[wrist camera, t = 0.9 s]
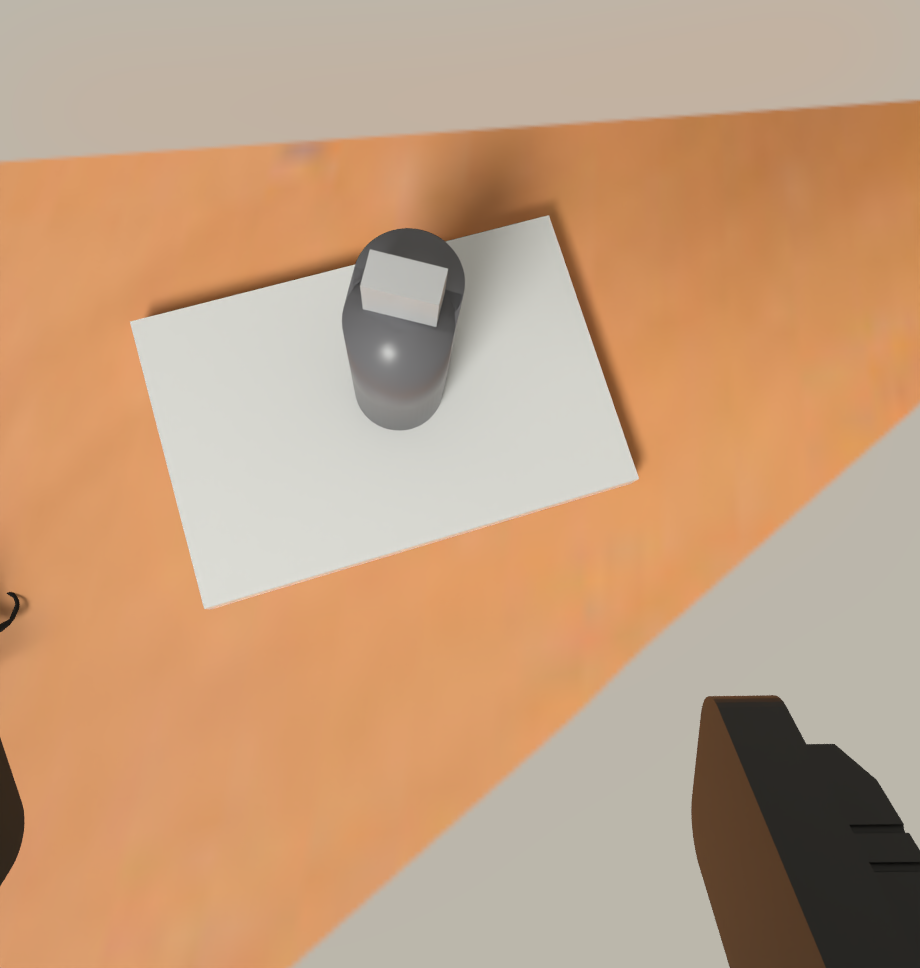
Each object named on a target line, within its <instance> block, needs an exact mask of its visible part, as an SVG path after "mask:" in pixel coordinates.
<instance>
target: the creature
mask: <svg viewBox="0 0 920 968" xmlns="http://www.w3.org/2000/svg"><path fill="white" fill-rule="evenodd" d="M7 594H8V595H10V596H11V597H13V598H14V601H15V607H14V609H13V612H12V614H11V617H10V619H9V620H7V621H5V622H3V623H1V624H0V632H2V631H3V630H4V629H5V628H7V627H8V626H9V625H10V624H11V623H12V621H13V620H14V619H15V617H16V614H17V612H18V610H19V599H18V598H17V596H16V595H15V593H12V592H8V593H7Z"/></svg>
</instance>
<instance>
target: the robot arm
mask: <svg viewBox="0 0 920 968" xmlns="http://www.w3.org/2000/svg"><path fill="white" fill-rule="evenodd" d="M903 825H904V824H903V822H902V821H901V819H900V817H899V816H898V814H897V813H896V811H895V809H894V808H893V806H892V805H891V803H890V801H889V799H888V798H887V796H886V794H885V793H884V791H883V790H882V788H881V786H880V785H879V783H878V781H877V780H876V779H875V778H874V777H872V776H871V775H870V774H869V773H868V772H867V771H865V770H864V769H863V768H862V767H861V766H860V765H858V764H857V763H856V762H855V761H854V760H852V759H851V758H850V757H849V756H848V755H847V754H845V753H844V752H843V751H842V750H841V749H840V748H838V747H837V746H836V745H835V744H806V743H805V741H804V739H803V737H802V735H801V733H800V732H799V730H798V728H797V726H796V724H795V722H794V720H793V718H792V717H791V715H790V713H789V711H788V709H787V707H786V705H785V704H784V702H783V701H782V700H781V699H780V698H779V697H778V696H773V695H771V696H709V697H706V699H705V700H704V703H703V706H702V712H701V720H700V730H699V738H698V748H697V757H696V766H695V775H694V785H693V794H692V829H693V838H694V845H695V850H696V855H697V859H698V863H699V866H700V870H701V873H702V877H703V880H704V883H705V886H706V890H707V893H708V896H709V900H710V903H711V906H712V910H713V913H714V916H715V920H716V923H717V926H718V929H719V933H720V936H721V940H722V943H723V946H724V950H725V953H726V956H727V960H728V963H729V966H730V968H920V850H919V848H918V847H917V845H916V844H915V842H914V840H913V839H912V837H911V836H910V834H909V833H905V831H904V827H903ZM23 833H24V809H23V805H22V802H21V799H20V796H19V793H18V790H17V787H16V784H15V781H14V778H13V775H12V772H11V769H10V766H9V763H8V760H7V757H6V754H5V751H4V748H3V745H2V742H1V739H0V885H1V884H2V882H3V881H4V879H5V877H6V876H7V874H8V873H9V871H10V869H11V868H12V866H13V864H14V862H15V860H16V858H17V855H18V853H19V850H20V847H21V843H22V838H23Z"/></svg>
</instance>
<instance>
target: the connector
mask: <svg viewBox="0 0 920 968" xmlns="http://www.w3.org/2000/svg"><path fill="white" fill-rule="evenodd" d="M464 289H465V276H464V270H463V267H462V264H461V262H460V260H459V258H458V256H457V254H456V253H455V252H454V250H453V249H452V248H451V247H450V246H449V245H448V244H447V243H446V242H445V241H444V240H442V239H441V238H439V237H438V236H436V235H434V234H432V233H429V232H427V231H423V230H419V229H410V228H405V229H397V230H392V231H389V232H386V233H384V234H382V235H380V236H378V237H377V238H375V239H374V240H372V241H371V242H370V243H369V244H368V245H367V246H366V247H365V248H364V249H363V251H362V252H361V254H360V255H359V257H358V259H357V261H356V264H355V267H354V271H353V274H352V278H351V282H350V285H349V289H348V293H347V297H346V300H345V304H344V308H343V313H342V329H343V334H344V339H345V345H346V350H347V355H348V360H349V365H350V370H351V375H352V380H353V386H354V391H355V396H356V400H357V402H358V405H359V407H360V409H361V410H362V412H363V413H364V414H365V416H366V417H367V418H368V419H370V420H371V421H372V422H373V423H375V424H377V425H378V426H381V427H383V428H386V429H390V430H399V431H401V430H409V429H413V428H415V427H418V426H420V425H422V424H423V423H425V422H426V421H428V420H429V419H430V418H431V417H432V416H433V414H434V413H435V412H436V410H437V409H438V407H439V405H440V402H441V399H442V395H443V391H444V387H445V383H446V379H447V374H448V370H449V366H450V361H451V356H452V351H453V346H454V341H455V336H456V331H457V326H458V320H459V315H460V310H461V305H462V300H463V295H464Z"/></svg>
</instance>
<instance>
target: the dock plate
mask: <svg viewBox="0 0 920 968" xmlns="http://www.w3.org/2000/svg"><path fill="white" fill-rule="evenodd" d="M445 242H446V243H447V244H448V245H449V246H450V247H451V248H452V249H453V250H454V252H455V253H456V254H457V256H458V258H459V260H460V262H461V264H462V267H463V270H464V276H465V289H464V295H463V300H462V305H461V310H460V315H459V320H458V326H457V331H456V336H455V341H454V346H453V351H452V356H451V361H450V366H449V370H448V374H447V379H446V383H445V387H444V391H443V395H442V399H441V402H440V405H439V407H438V409H437V410H436V412H435V413H434V414H433V416H432V417H431V418H430V419H429V420H428V421H426V422H425V423H423V424H422V425H420V426H418V427H415V428H413V429H409V430H401V431H399V430H390V429H386V428H383V427H381V426H378V425H377V424H375V423H373V422H372V421H371V420H370V419H368V418H367V417H366V416H365V414H364V413H363V412H362V410H361V409H360V407H359V405H358V402H357V400H356V396H355V391H354V386H353V380H352V375H351V370H350V365H349V360H348V355H347V350H346V345H345V339H344V334H343V329H342V313H343V308H344V304H345V300H346V297H347V293H348V289H349V285H350V282H351V278H352V274H353V271H354V267H355V265H351V266H347V267H343V268H339V269H335V270H331V271H328V272H324V273H320V274H316V275H312V276H308V277H304V278H300V279H296V280H292V281H288V282H284V283H280V284H276V285H272V286H269V287H265V288H261V289H257V290H253V291H249V292H245V293H241V294H237V295H233V296H229V297H225V298H221V299H217V300H213V301H210V302H206V303H202V304H198V305H194V306H190V307H186V308H182V309H178V310H174V311H170V312H166V313H162V314H158V315H155V316H151V317H147V318H143V319H139V320H135V321H131V322H130V323H131V327H132V331H133V335H134V339H135V343H136V347H137V351H138V354H139V358H140V362H141V366H142V370H143V374H144V378H145V382H146V385H147V389H148V393H149V397H150V401H151V405H152V409H153V413H154V416H155V420H156V424H157V428H158V432H159V436H160V440H161V443H162V447H163V451H164V455H165V459H166V463H167V467H168V471H169V474H170V478H171V482H172V486H173V490H174V494H175V498H176V502H177V505H178V509H179V513H180V517H181V521H182V525H183V529H184V533H185V536H186V540H187V544H188V548H189V552H190V556H191V560H192V563H193V567H194V571H195V575H196V579H197V583H198V587H199V591H200V594H201V598H202V602H203V606H204V609H214V608H217V607H221V606H224V605H227V604H231V603H234V602H237V601H241V600H244V599H247V598H251V597H254V596H258V595H261V594H264V593H268V592H271V591H274V590H278V589H281V588H284V587H288V586H291V585H294V584H298V583H301V582H304V581H308V580H311V579H314V578H318V577H321V576H324V575H328V574H331V573H334V572H338V571H341V570H344V569H348V568H351V567H354V566H358V565H361V564H364V563H368V562H371V561H374V560H378V559H381V558H384V557H388V556H391V555H394V554H398V553H401V552H404V551H408V550H411V549H414V548H418V547H421V546H424V545H428V544H431V543H434V542H438V541H441V540H444V539H448V538H451V537H454V536H458V535H461V534H464V533H468V532H471V531H474V530H478V529H481V528H484V527H488V526H491V525H494V524H498V523H501V522H504V521H508V520H511V519H514V518H518V517H521V516H524V515H528V514H531V513H535V512H538V511H541V510H545V509H548V508H551V507H555V506H558V505H561V504H565V503H568V502H571V501H575V500H578V499H581V498H585V497H588V496H591V495H595V494H598V493H601V492H605V491H608V490H611V489H615V488H618V487H621V486H625V485H628V484H631V483H633V482H634V481H636V480H638V479H639V477H638V474H637V471H636V469H635V466H634V463H633V460H632V457H631V454H630V451H629V448H628V445H627V442H626V439H625V436H624V433H623V431H622V428H621V425H620V422H619V419H618V416H617V413H616V410H615V407H614V404H613V401H612V398H611V396H610V393H609V390H608V387H607V384H606V381H605V378H604V375H603V372H602V369H601V366H600V363H599V360H598V358H597V355H596V352H595V349H594V346H593V343H592V340H591V337H590V334H589V331H588V328H587V325H586V322H585V320H584V317H583V314H582V311H581V308H580V305H579V302H578V299H577V296H576V293H575V290H574V287H573V284H572V282H571V279H570V276H569V273H568V270H567V267H566V264H565V261H564V258H563V255H562V252H561V249H560V246H559V244H558V241H557V238H556V235H555V232H554V229H553V226H552V223H551V220H550V217H549V215H548V216H544V217H540V218H536V219H532V220H528V221H524V222H520V223H516V224H512V225H508V226H504V227H501V228H497V229H493V230H489V231H485V232H481V233H477V234H473V235H469V236H465V237H461V238H457V239H453V240H449V241H445Z"/></svg>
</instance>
